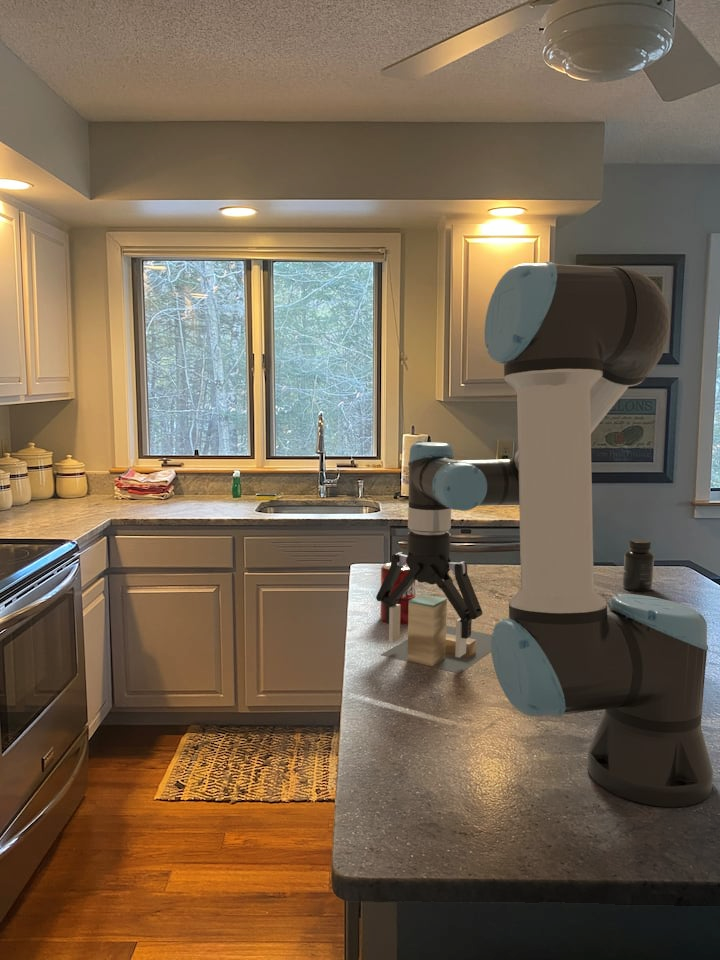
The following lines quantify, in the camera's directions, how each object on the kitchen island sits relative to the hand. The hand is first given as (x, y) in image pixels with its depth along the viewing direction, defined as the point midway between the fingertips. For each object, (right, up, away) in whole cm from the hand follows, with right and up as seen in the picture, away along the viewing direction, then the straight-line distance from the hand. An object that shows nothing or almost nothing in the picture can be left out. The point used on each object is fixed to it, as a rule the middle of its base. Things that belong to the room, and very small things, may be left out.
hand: (426, 647), depth 141 cm
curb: (+4, -1, +6) cm, 7 cm away
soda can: (-4, 0, +23) cm, 24 cm away
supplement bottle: (+56, +3, +51) cm, 76 cm away
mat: (+4, -2, +7) cm, 9 cm away
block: (0, -2, 0) cm, 2 cm away
